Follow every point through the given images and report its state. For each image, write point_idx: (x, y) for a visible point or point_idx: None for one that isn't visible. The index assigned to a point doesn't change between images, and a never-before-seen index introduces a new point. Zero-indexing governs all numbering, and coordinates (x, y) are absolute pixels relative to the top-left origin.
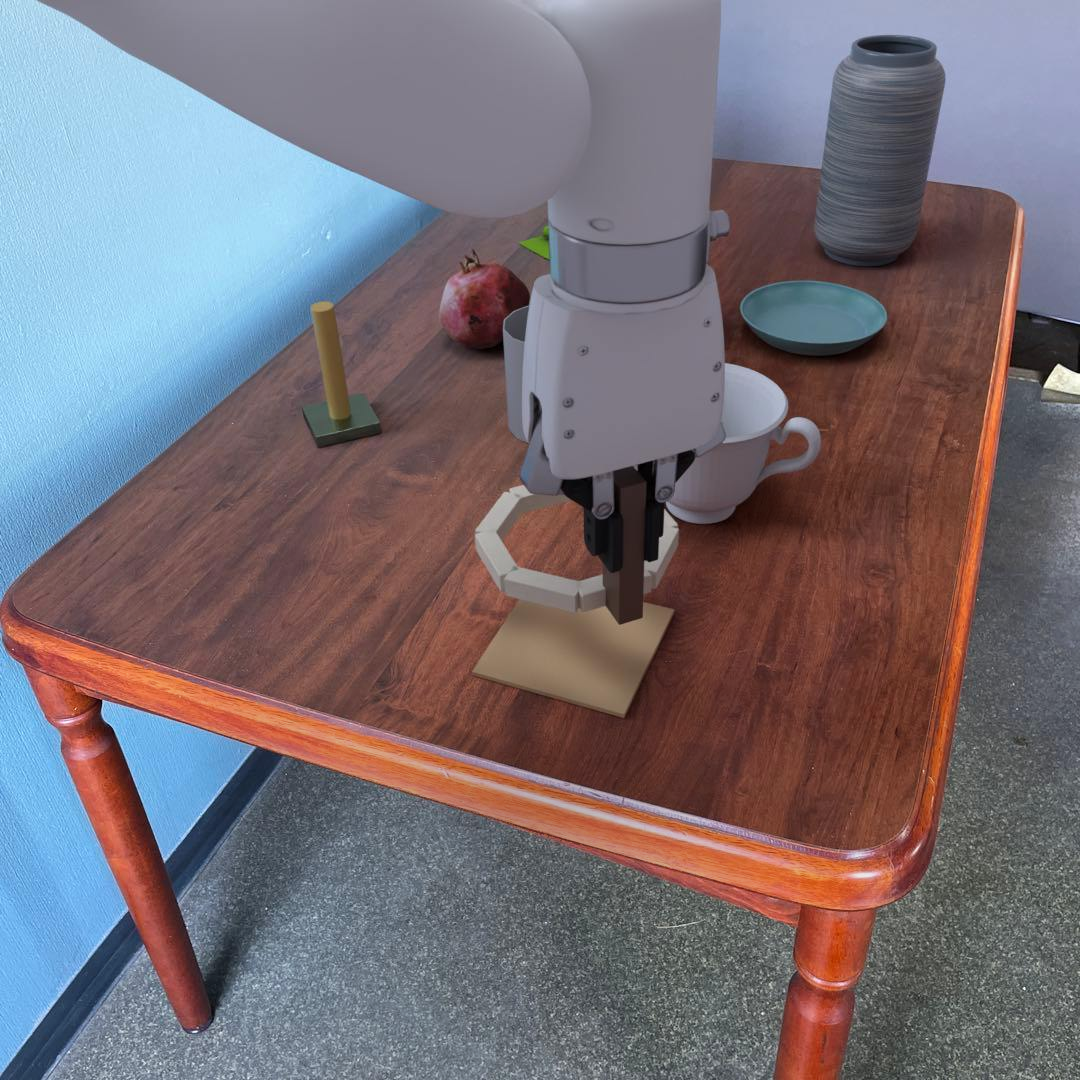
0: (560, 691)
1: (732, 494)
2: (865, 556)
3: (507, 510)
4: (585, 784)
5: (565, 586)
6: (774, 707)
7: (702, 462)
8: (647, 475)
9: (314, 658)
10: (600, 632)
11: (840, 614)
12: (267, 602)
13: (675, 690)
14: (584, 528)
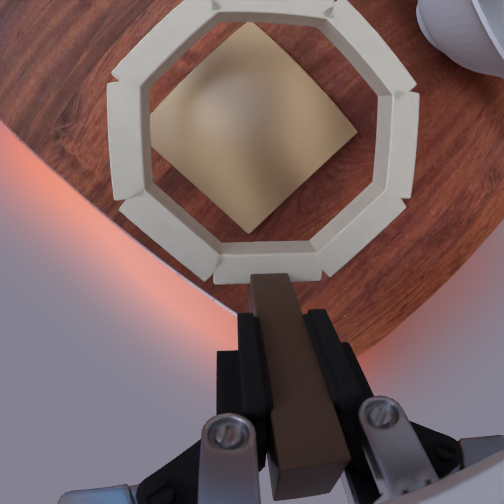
0: (205, 187)
1: (474, 70)
2: (497, 158)
3: (181, 36)
4: (191, 279)
5: (198, 259)
6: (360, 264)
7: (482, 52)
8: (359, 454)
9: (26, 76)
10: (277, 127)
11: (454, 201)
12: (17, 6)
13: (305, 219)
14: (217, 372)
